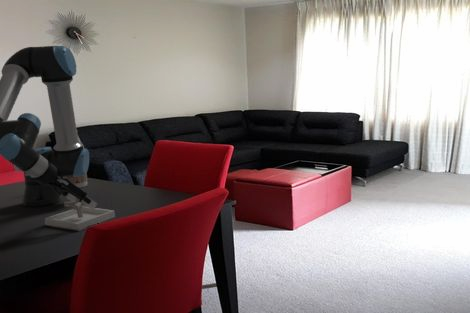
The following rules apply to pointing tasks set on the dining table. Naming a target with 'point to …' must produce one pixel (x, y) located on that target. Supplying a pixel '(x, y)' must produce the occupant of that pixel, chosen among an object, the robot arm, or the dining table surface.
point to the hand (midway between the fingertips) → (87, 205)
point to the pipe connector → (76, 206)
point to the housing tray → (74, 223)
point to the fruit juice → (79, 177)
